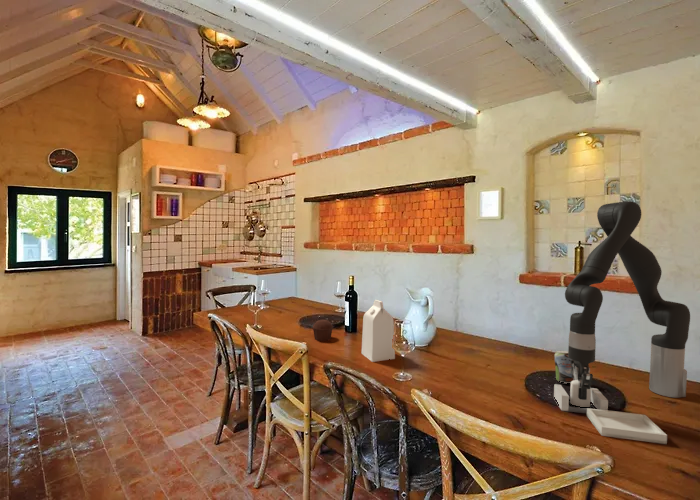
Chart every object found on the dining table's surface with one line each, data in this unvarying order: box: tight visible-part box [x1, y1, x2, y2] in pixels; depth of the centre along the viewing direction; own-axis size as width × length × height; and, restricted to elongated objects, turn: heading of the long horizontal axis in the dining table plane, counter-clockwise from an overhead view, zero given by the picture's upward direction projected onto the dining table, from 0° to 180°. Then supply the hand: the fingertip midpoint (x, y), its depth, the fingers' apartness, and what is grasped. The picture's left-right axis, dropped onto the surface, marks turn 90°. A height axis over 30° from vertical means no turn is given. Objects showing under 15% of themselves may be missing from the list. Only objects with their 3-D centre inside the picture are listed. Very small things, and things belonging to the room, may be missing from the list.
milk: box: [361, 299, 396, 363], centre depth 169 cm, size 12×12×26 cm
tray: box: [586, 407, 668, 445], centre depth 107 cm, size 16×12×2 cm
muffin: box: [312, 319, 334, 342], centre depth 197 cm, size 12×11×10 cm
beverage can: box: [554, 350, 574, 384], centre depth 141 cm, size 6×7×12 cm
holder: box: [553, 383, 609, 414], centre depth 121 cm, size 13×9×5 cm
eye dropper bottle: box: [569, 377, 592, 408], centre depth 121 cm, size 4×6×12 cm
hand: (580, 396), depth 121 cm, fingers closed on eye dropper bottle, 3 cm apart
